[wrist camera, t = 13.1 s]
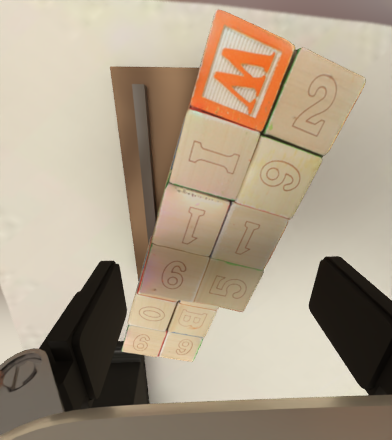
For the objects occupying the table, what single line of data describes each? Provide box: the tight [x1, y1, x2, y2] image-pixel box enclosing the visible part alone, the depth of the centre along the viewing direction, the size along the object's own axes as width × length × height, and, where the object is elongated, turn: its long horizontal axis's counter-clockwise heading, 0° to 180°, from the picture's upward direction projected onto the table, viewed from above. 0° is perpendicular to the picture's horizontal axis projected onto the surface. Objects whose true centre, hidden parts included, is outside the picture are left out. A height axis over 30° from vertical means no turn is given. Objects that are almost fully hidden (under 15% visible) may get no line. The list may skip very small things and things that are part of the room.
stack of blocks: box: [122, 9, 366, 362], centre depth 17 cm, size 21×6×12 cm, turn 162°
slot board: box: [110, 67, 200, 281], centre depth 23 cm, size 14×23×2 cm, turn 0°
